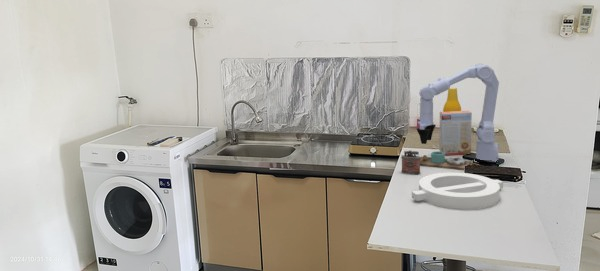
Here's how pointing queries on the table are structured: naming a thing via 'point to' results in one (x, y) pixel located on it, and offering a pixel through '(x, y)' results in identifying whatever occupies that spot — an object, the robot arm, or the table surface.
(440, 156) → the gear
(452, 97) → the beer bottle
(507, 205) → the table surface
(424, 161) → the board
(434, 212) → the table surface
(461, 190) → the ring with crossbar
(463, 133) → the cracker box
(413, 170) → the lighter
